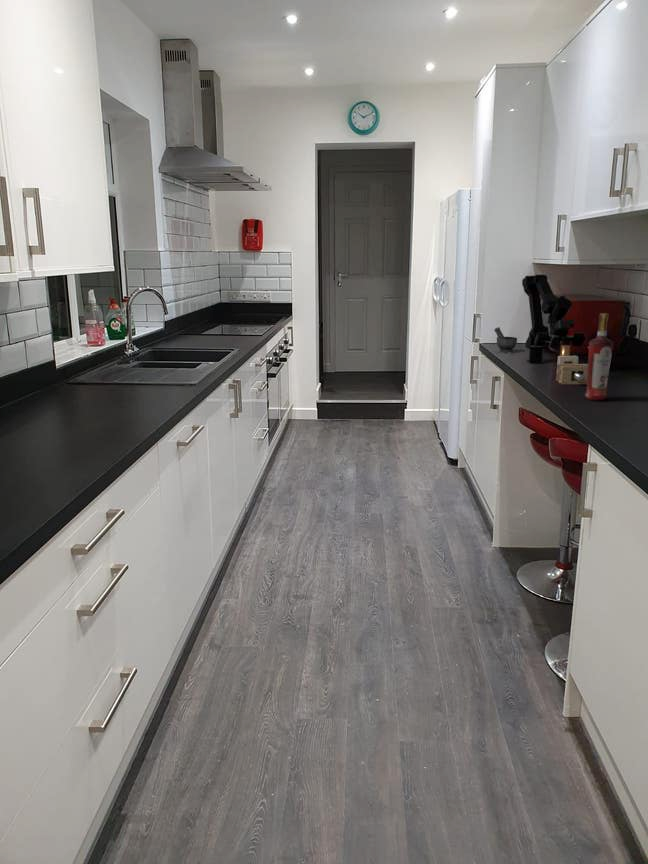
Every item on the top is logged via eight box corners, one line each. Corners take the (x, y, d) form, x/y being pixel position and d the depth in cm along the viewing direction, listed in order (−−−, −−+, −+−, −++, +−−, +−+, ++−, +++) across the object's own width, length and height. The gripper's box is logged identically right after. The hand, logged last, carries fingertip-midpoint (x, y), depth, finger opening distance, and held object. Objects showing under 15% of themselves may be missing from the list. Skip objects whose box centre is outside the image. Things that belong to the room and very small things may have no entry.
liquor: (599, 396, 225) (608, 312, 218) (611, 401, 218) (621, 314, 211) (579, 397, 224) (587, 313, 216) (591, 402, 217) (599, 315, 209)
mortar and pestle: (513, 350, 328) (515, 326, 325) (519, 353, 319) (520, 328, 316) (490, 350, 328) (492, 326, 325) (495, 353, 319) (496, 328, 316)
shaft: (553, 374, 264) (556, 344, 261) (569, 374, 263) (571, 344, 260) (571, 385, 242) (574, 353, 239) (588, 385, 241) (591, 353, 238)
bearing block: (556, 380, 252) (557, 363, 251) (585, 380, 252) (587, 363, 250) (561, 384, 246) (563, 367, 244) (591, 384, 245) (593, 367, 244)
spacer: (556, 377, 259) (558, 355, 257) (574, 377, 259) (576, 355, 257) (558, 378, 256) (560, 356, 254) (576, 378, 256) (578, 356, 254)
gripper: (538, 312, 263) (543, 343, 255) (586, 312, 262) (593, 343, 255) (531, 330, 273) (537, 361, 265) (578, 330, 272) (584, 361, 264)
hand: (563, 356), depth 262 cm, fingers closed, pressing on shaft
